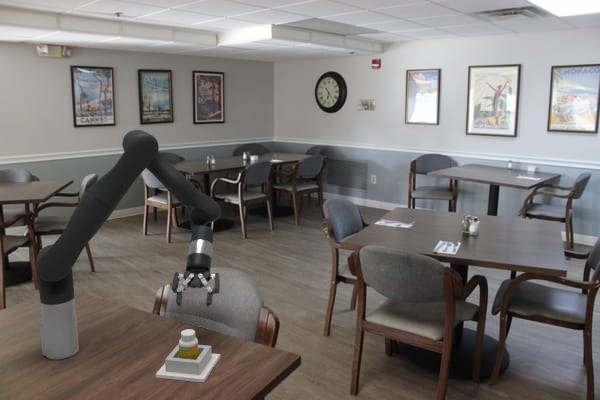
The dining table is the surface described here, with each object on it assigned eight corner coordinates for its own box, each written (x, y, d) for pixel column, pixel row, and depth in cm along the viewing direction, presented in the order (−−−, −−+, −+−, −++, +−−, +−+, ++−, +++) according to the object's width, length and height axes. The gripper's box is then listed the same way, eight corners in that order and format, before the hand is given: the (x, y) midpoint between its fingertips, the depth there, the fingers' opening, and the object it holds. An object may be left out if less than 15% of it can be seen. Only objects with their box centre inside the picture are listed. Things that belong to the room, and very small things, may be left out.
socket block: (155, 377, 141) (155, 362, 140) (176, 353, 154) (175, 339, 153) (203, 382, 138) (203, 367, 138) (220, 357, 152) (220, 343, 151)
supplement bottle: (179, 369, 143) (178, 337, 141) (179, 359, 148) (178, 329, 146) (199, 367, 144) (198, 335, 142) (198, 357, 150) (197, 327, 148)
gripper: (175, 251, 158) (167, 300, 149) (220, 251, 158) (215, 301, 149) (179, 262, 164) (172, 310, 155) (223, 262, 164) (218, 310, 155)
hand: (193, 305), depth 152 cm, fingers open, 8 cm apart
